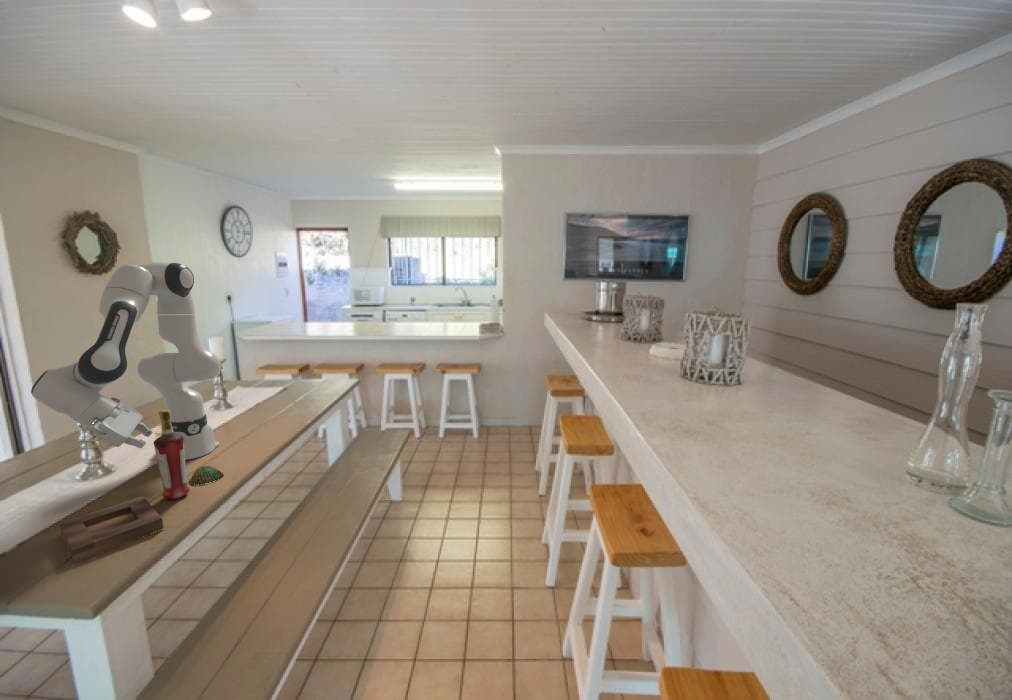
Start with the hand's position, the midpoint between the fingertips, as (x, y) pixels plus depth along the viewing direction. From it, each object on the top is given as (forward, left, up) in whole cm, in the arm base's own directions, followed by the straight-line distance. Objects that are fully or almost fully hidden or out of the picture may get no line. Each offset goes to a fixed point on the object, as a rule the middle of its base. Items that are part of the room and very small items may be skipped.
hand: (147, 439), depth 134 cm
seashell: (-4, +15, -20) cm, 25 cm away
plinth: (+11, -12, -20) cm, 26 cm away
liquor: (+2, +5, -20) cm, 20 cm away
